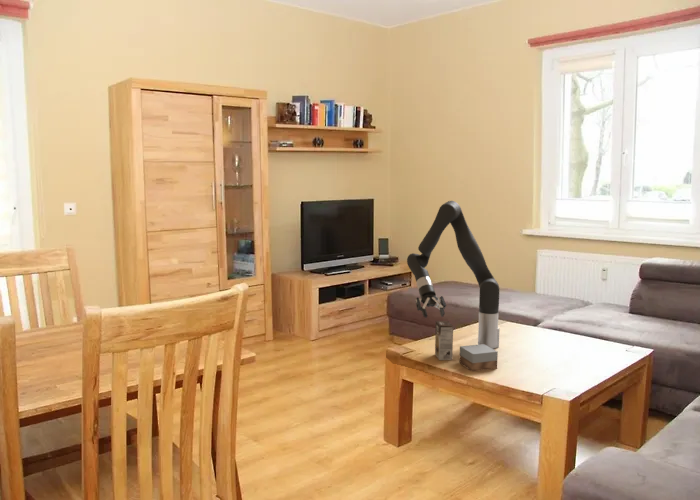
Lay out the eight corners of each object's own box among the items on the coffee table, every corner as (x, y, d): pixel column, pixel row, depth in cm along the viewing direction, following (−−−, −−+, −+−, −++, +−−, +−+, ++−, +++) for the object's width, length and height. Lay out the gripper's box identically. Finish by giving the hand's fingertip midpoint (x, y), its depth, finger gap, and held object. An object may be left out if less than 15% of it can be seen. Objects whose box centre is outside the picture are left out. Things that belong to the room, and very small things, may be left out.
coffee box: (434, 354, 290) (435, 320, 288) (447, 354, 291) (448, 320, 288) (438, 360, 281) (439, 325, 279) (452, 360, 282) (453, 325, 279)
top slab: (483, 352, 281) (483, 344, 280) (497, 360, 269) (497, 351, 269) (459, 354, 277) (459, 346, 277) (472, 363, 266) (473, 354, 265)
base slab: (483, 361, 281) (483, 352, 281) (497, 369, 270) (497, 360, 269) (459, 363, 278) (459, 354, 277) (472, 372, 266) (472, 363, 266)
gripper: (414, 284, 298) (423, 313, 289) (441, 283, 302) (450, 311, 293) (410, 293, 304) (418, 321, 295) (436, 291, 308) (445, 319, 299)
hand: (434, 316), depth 294 cm, fingers open, 8 cm apart
